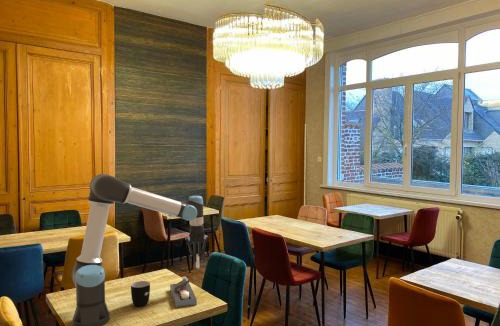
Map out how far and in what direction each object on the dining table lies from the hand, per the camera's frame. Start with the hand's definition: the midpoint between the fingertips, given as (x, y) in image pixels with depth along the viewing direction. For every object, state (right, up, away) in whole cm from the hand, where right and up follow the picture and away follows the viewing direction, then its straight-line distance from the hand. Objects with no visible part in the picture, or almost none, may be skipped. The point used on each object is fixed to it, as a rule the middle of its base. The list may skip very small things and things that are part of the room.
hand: (197, 267), depth 204 cm
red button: (-5, -11, -15) cm, 19 cm away
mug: (-25, -12, -20) cm, 34 cm away
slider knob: (-7, -8, -2) cm, 11 cm away
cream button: (-3, -10, -21) cm, 23 cm away
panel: (-6, -12, -13) cm, 18 cm away
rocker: (-7, -6, -10) cm, 13 cm away
